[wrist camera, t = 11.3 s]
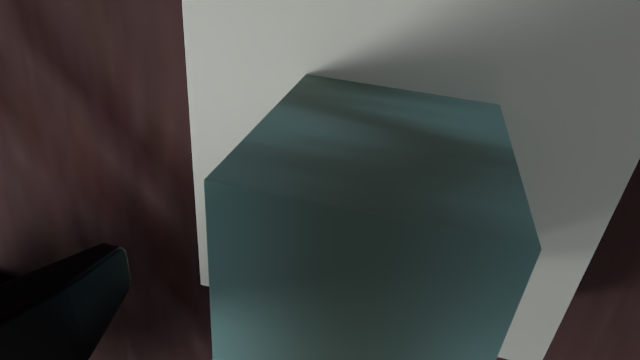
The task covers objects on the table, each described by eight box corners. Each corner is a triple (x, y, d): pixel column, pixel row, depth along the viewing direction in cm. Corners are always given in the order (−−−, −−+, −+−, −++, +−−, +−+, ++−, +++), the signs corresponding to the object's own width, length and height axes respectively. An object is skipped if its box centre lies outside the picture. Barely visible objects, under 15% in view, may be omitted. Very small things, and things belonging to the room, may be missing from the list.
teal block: (295, 226, 15) (214, 385, 10) (305, 74, 12) (203, 180, 7) (453, 260, 14) (456, 455, 9) (500, 104, 11) (541, 249, 6)
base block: (232, 238, 20) (200, 284, 17) (227, -86, 14) (176, -88, 11) (526, 303, 18) (539, 367, 15) (670, -43, 12) (732, -35, 9)
